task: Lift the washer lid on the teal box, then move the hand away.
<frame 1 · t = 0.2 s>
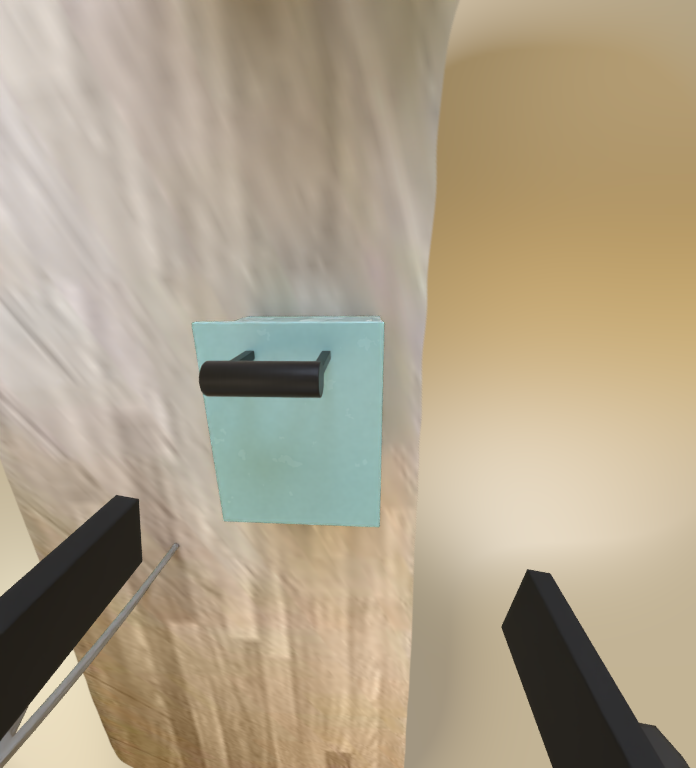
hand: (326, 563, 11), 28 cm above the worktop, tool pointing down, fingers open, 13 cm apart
teal box: (316, 392, 39), on the worktop
citrus juicer: (152, 552, 49), on the worktop
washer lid: (284, 454, 25), point 15 cm above the worktop, hinge at 0.0°
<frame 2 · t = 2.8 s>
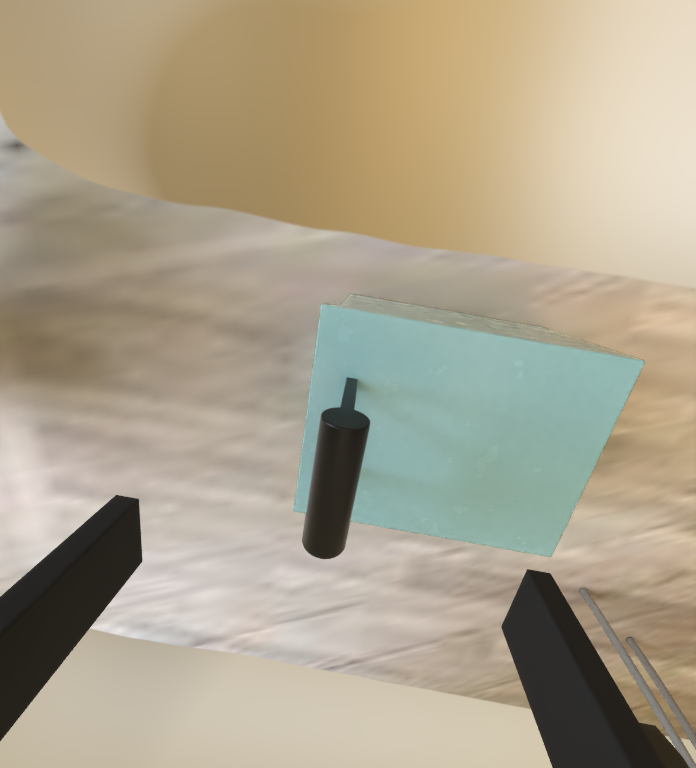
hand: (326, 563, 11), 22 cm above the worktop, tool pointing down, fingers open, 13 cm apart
teal box: (427, 386, 32), on the worktop
citrus juicer: (582, 616, 41), on the worktop
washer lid: (462, 473, 18), point 15 cm above the worktop, hinge at 0.0°
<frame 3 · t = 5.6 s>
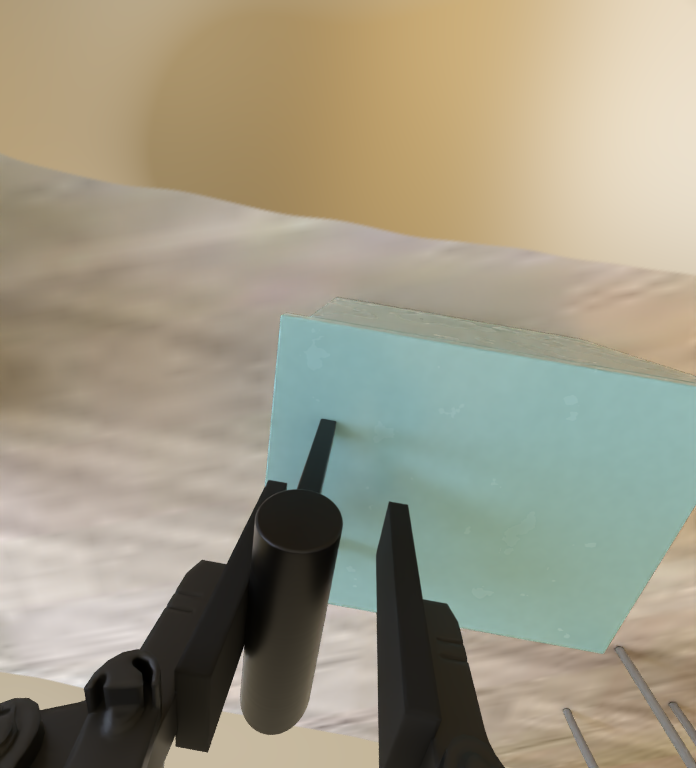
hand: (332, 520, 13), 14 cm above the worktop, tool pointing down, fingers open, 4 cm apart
teal box: (433, 410, 26), on the worktop
citrus juicer: (617, 677, 35), on the worktop
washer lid: (490, 570, 12), point 15 cm above the worktop, hinge at 0.2°, touching gripper
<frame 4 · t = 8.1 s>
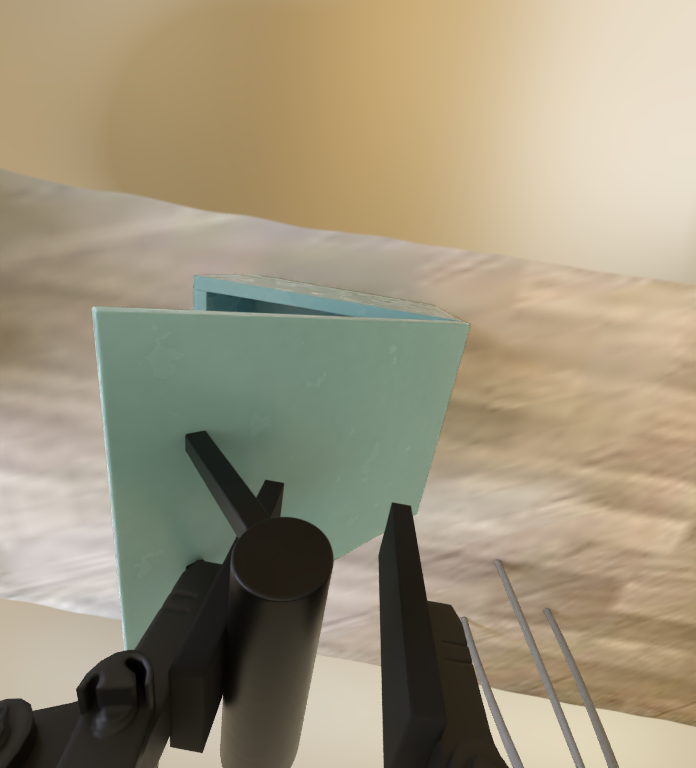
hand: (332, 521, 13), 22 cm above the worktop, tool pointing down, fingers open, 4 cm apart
teal box: (331, 362, 34), on the worktop
citrus juicer: (500, 588, 43), on the worktop
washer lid: (380, 500, 15), point 20 cm above the worktop, hinge at 43.8°, touching gripper
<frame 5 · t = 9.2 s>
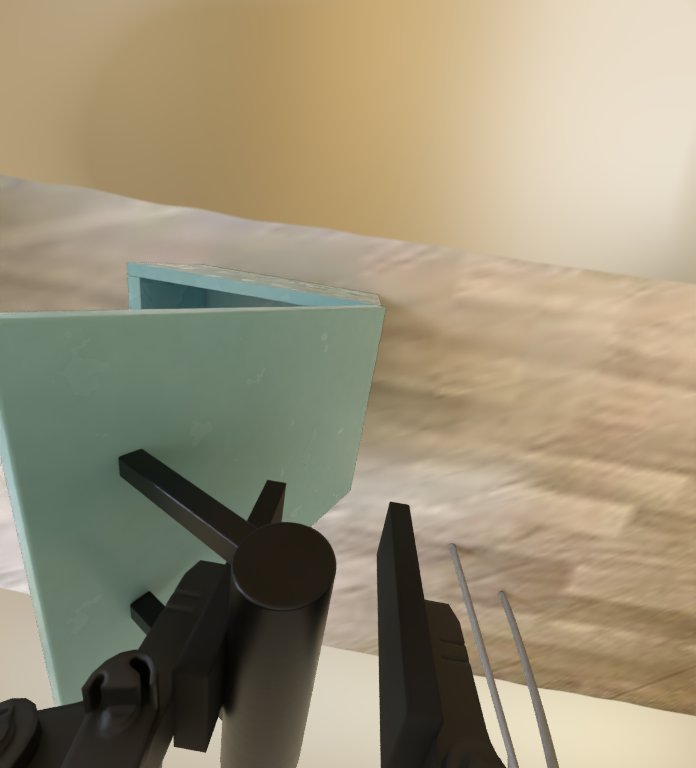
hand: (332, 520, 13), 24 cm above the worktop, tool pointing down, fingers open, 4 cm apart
teal box: (282, 350, 35), on the worktop
citrus juicer: (456, 571, 44), on the worktop
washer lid: (331, 485, 15), point 21 cm above the worktop, hinge at 62.2°
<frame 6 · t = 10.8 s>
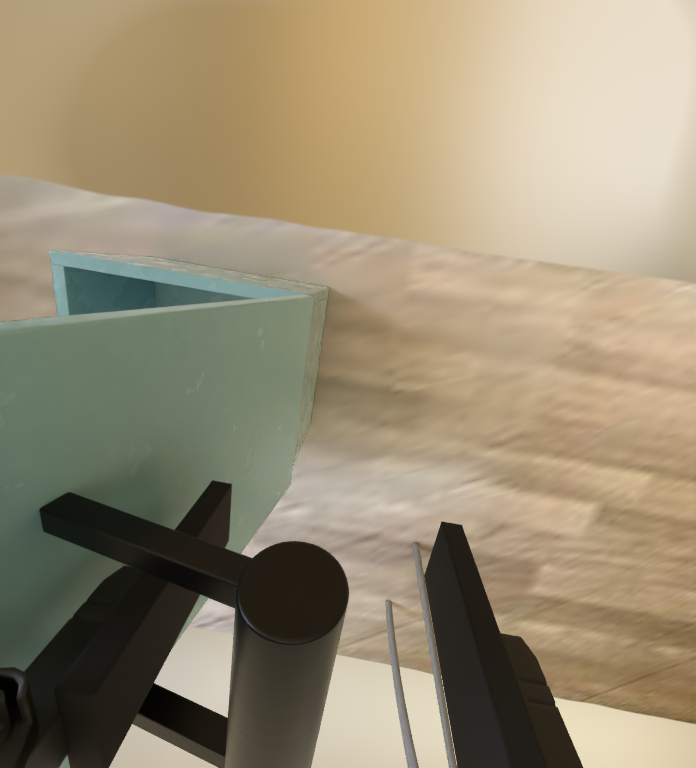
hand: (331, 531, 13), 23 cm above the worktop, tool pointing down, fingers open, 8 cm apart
teal box: (236, 345, 35), on the worktop
citrus juicer: (421, 570, 43), on the worktop
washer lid: (287, 487, 15), point 21 cm above the worktop, hinge at 79.2°, touching gripper
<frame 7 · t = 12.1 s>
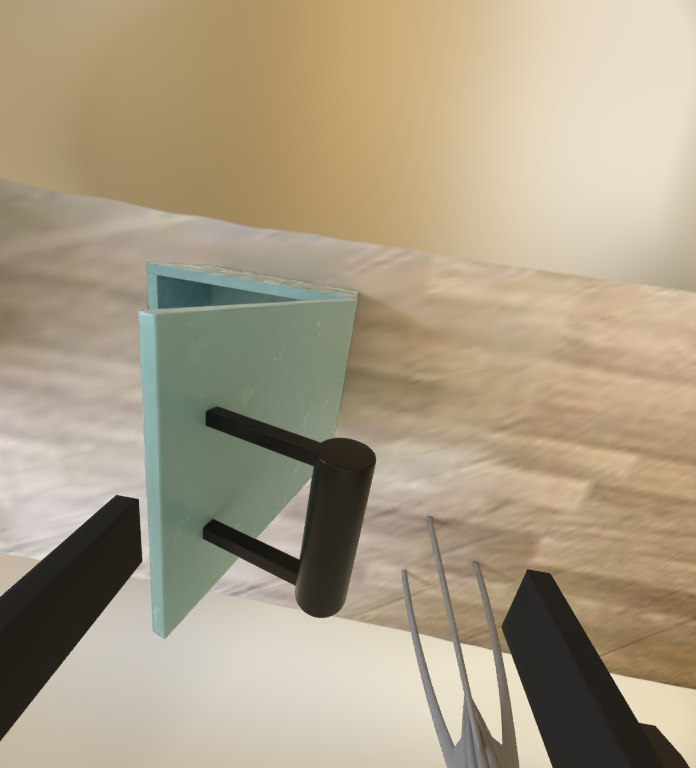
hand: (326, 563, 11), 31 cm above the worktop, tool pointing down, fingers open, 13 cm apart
teal box: (277, 340, 41), on the worktop
citrus juicer: (434, 542, 49), on the worktop
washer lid: (334, 436, 20), point 21 cm above the worktop, hinge at 73.1°
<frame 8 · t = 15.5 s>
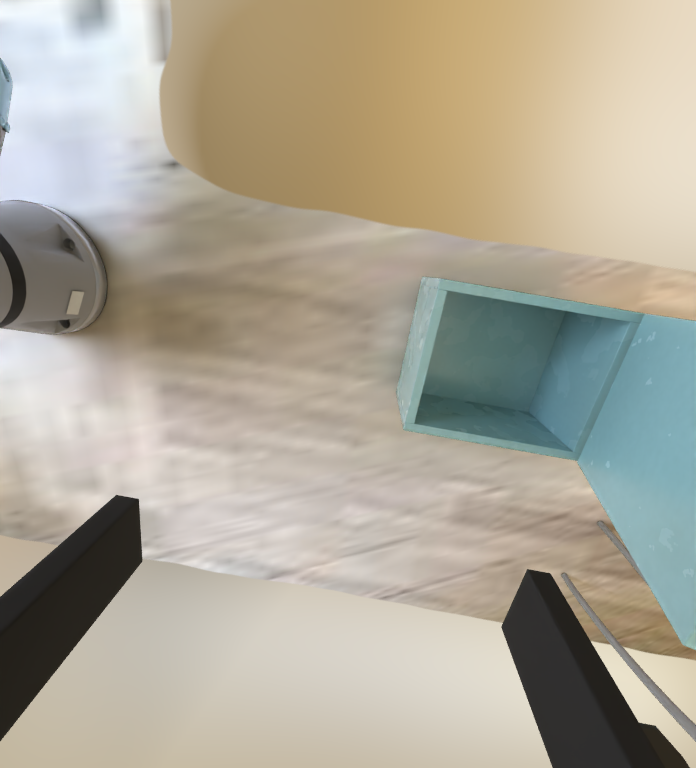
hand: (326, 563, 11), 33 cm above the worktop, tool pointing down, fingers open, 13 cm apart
teal box: (478, 350, 41), on the worktop
citrus juicer: (599, 546, 50), on the worktop
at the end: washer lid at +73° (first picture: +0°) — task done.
